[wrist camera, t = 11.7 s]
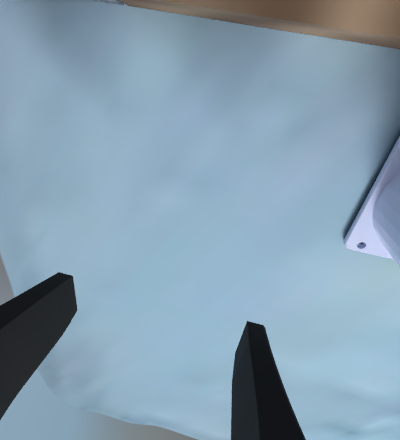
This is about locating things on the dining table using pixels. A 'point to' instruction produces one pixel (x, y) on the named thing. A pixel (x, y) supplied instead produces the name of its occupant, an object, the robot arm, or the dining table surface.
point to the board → (299, 16)
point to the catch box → (112, 1)
